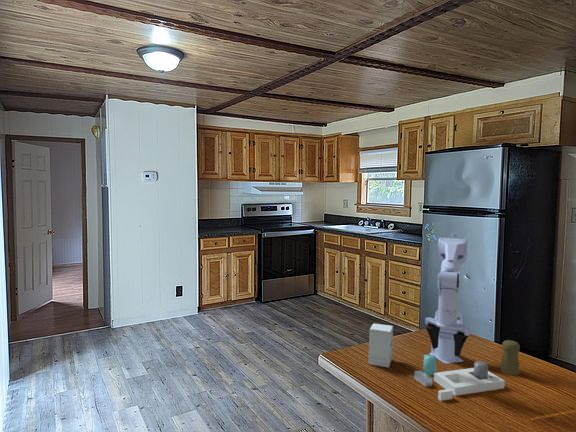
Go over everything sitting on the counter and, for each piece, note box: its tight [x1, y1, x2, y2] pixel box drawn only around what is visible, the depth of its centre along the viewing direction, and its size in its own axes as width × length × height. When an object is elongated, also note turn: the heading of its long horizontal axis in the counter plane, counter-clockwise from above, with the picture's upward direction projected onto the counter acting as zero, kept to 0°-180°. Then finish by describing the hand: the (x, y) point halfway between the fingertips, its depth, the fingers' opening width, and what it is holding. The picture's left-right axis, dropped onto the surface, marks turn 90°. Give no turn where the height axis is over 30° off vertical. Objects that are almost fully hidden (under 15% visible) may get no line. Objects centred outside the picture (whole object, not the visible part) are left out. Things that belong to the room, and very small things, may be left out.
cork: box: [499, 339, 521, 377], centre depth 137 cm, size 6×6×11 cm
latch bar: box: [413, 370, 433, 388], centre depth 129 cm, size 6×2×3 cm, turn 16°
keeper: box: [437, 389, 454, 403], centre depth 119 cm, size 1×4×3 cm, turn 106°
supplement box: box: [368, 323, 394, 368], centre depth 145 cm, size 7×7×13 cm
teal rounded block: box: [422, 354, 438, 377], centre depth 135 cm, size 4×4×6 cm
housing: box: [433, 367, 506, 396], centre depth 128 cm, size 10×18×3 cm, turn 106°
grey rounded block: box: [473, 360, 489, 380], centre depth 129 cm, size 4×4×6 cm
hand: (446, 351), depth 130 cm, fingers open, 7 cm apart
